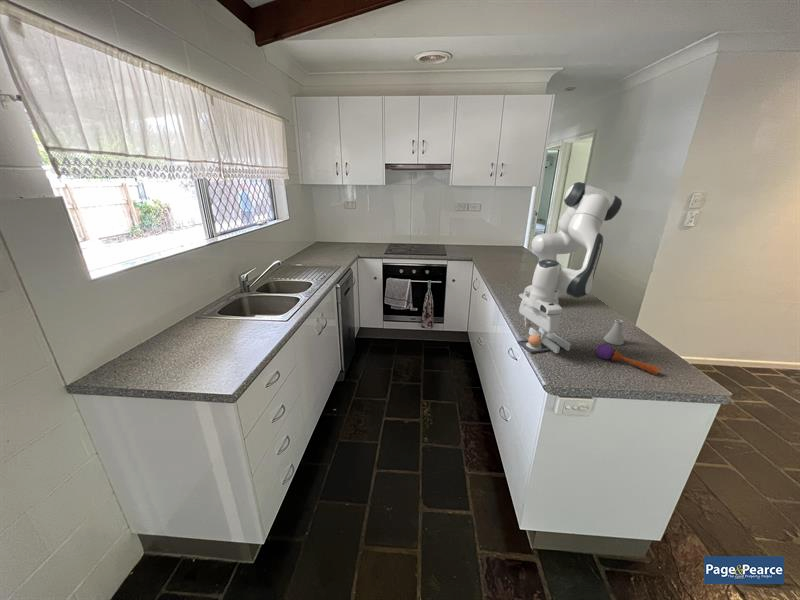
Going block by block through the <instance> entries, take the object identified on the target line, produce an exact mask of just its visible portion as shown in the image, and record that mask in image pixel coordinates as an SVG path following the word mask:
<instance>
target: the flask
mask: <svg viewBox="0 0 800 600" xmlns="http://www.w3.org/2000/svg"><path fill="white" fill-rule="evenodd" d="M624 323H625V322H624V320H622V319H617V318H616V319H614V323H613V325H612V326H611V327H612V328H611V329H610V330H609V331H608V333H607V334H606V335H605V336H603V338H602V340H604V341H605V343H606V344H607V343H608V344H609V345H610V344H611V345H612V346H622V345H624V344H625V342H624V337H623V331H622V330H623V324H624Z"/></svg>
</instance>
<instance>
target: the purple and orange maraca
mask: <svg viewBox="0 0 800 600" xmlns="http://www.w3.org/2000/svg"><path fill="white" fill-rule="evenodd" d="M595 354H596V355H597V357H598V358H600V359H601V360H602V359H603V360H609V359H611V358H612V359H611V360H612V361H625V362H626V363H628V364H631V365H633V366H635V367H637V368H639V369H641V370H644V371H645V372H648V373H649V374H650V375H653V376H657V374H658V373H659V370H660V368H661V367H659V366H656V365H653V364H649V363H645V362H642V361H640V360H639V361H638V360H634V359H631V358H629V357H628V358H627V357H626V356H624V355H623V354H622V353H620V352H619V351H618V350H614V348H613V347H612V346H611V345H610V344H609V343H608V344H607V343H601V344H599V345H597V346H596V348H595Z"/></svg>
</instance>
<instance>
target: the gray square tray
mask: <svg viewBox="0 0 800 600" xmlns="http://www.w3.org/2000/svg"><path fill="white" fill-rule="evenodd" d="M517 344H518V345H520V346H521V347H522V348H523V349H524V350H526V351H527V352H528V353H530V354H536V353H537V354H538V352H540V353H545V352H544V351H547V352H551V351H552V350H551V349H550V348H549V347H547V346H546V345H545V344H543V343H542V342H541V344H540V345H539V346H532V345H530V344H529V342H528V339H522V340H517Z"/></svg>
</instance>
